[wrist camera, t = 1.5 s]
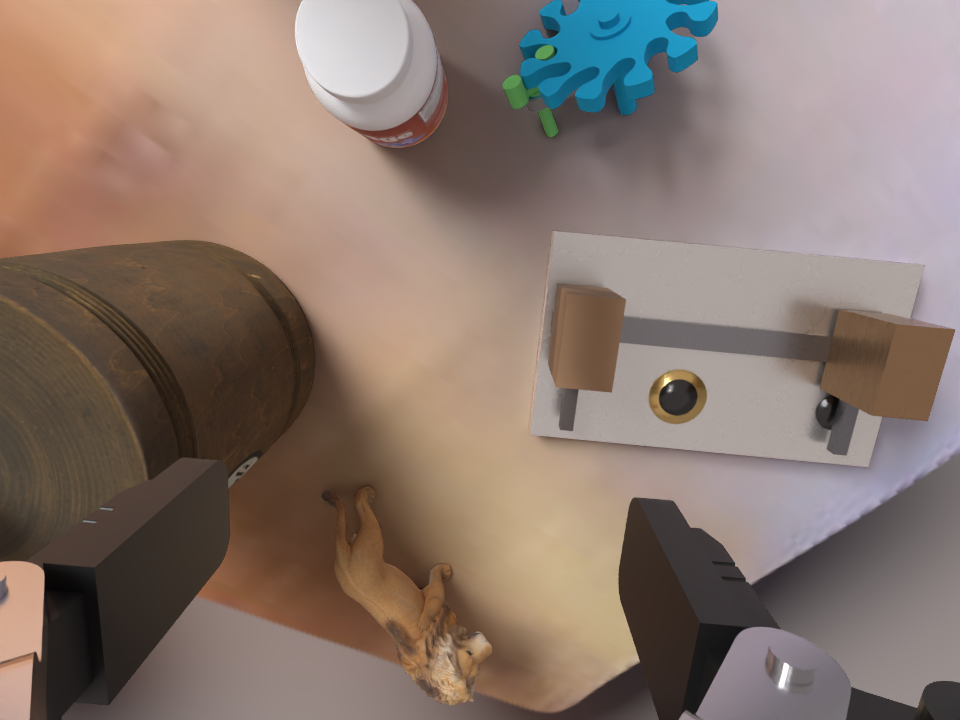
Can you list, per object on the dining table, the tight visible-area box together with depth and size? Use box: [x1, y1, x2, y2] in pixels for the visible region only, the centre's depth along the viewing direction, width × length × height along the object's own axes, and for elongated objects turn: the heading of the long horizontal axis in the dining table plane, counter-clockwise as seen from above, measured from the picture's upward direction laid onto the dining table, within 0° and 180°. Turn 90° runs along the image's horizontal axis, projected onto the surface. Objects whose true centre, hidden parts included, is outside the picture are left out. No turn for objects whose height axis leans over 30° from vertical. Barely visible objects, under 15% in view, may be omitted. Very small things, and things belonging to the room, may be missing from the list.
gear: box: [502, 0, 718, 137], centre depth 30 cm, size 11×6×10 cm
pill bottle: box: [295, 0, 448, 148], centre depth 28 cm, size 6×6×11 cm
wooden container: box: [0, 240, 314, 562], centre depth 27 cm, size 15×15×22 cm
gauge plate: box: [529, 231, 955, 467], centre depth 33 cm, size 22×13×7 cm, turn 85°
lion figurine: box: [322, 486, 493, 705], centre depth 36 cm, size 15×5×9 cm, turn 49°
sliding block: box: [548, 283, 626, 431], centre depth 32 cm, size 3×9×5 cm, turn 175°
